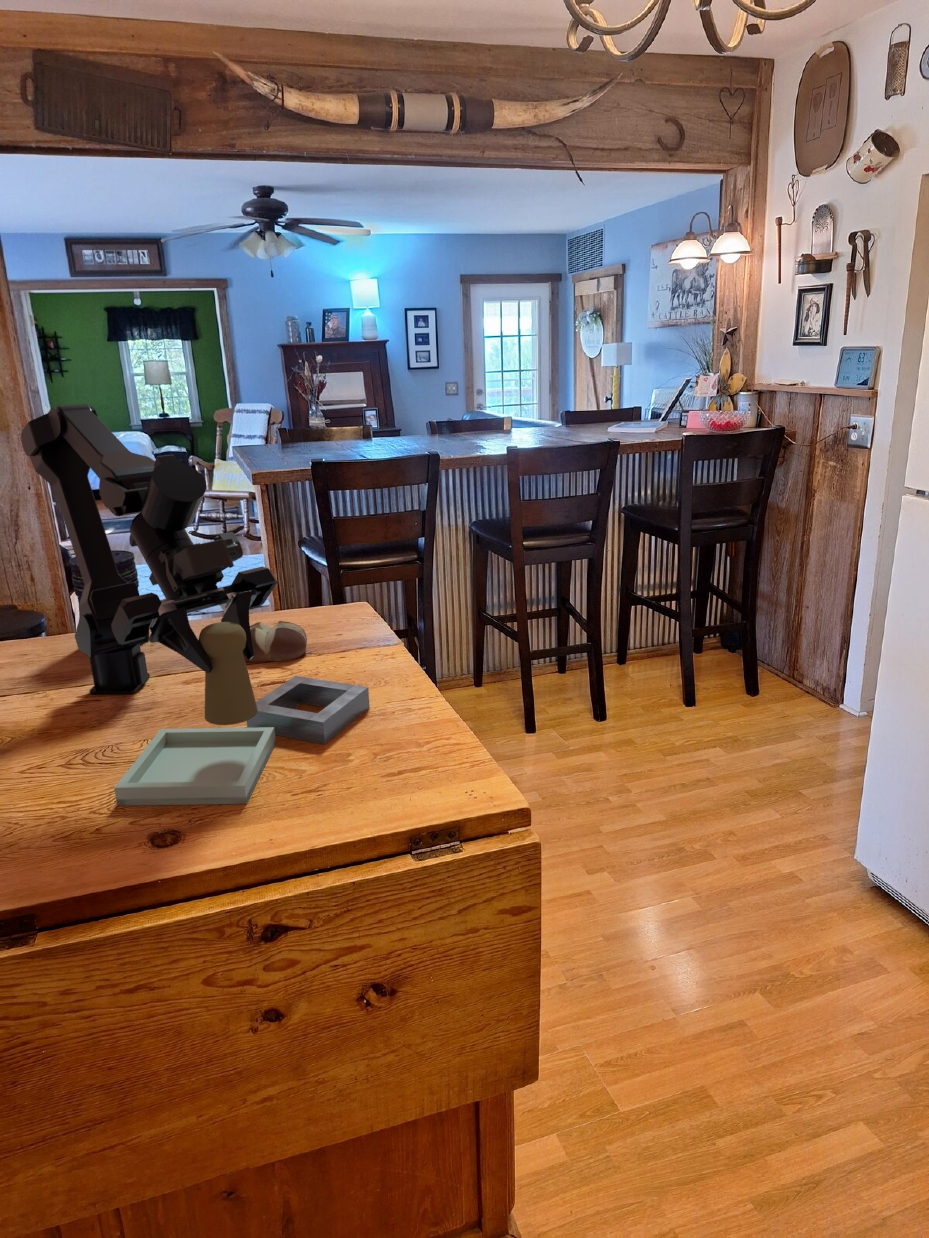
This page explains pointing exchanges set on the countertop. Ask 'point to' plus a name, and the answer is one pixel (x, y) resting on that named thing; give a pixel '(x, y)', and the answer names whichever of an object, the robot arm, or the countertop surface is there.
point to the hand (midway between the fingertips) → (231, 664)
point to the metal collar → (308, 726)
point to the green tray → (197, 767)
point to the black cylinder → (124, 567)
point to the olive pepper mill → (227, 675)
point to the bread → (277, 641)
